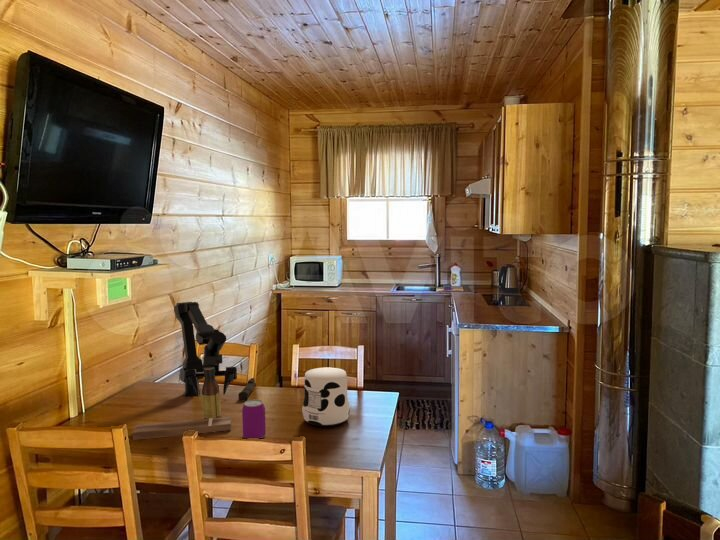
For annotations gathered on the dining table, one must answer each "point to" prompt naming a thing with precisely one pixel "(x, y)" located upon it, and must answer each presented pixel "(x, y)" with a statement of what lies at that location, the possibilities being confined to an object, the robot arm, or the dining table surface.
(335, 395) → the milk container
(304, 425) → the dining table surface
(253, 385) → the hand tool
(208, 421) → the walnut board
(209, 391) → the sauce bottle
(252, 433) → the beverage can
